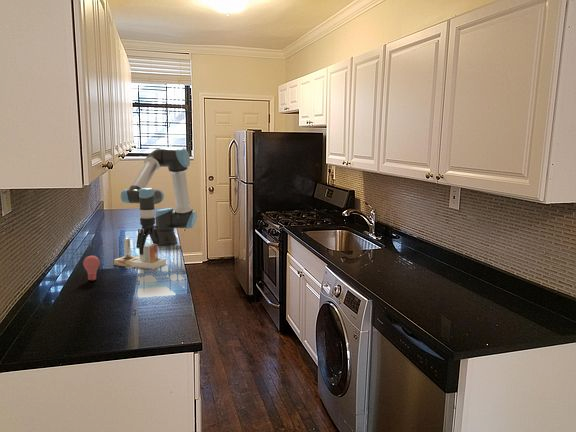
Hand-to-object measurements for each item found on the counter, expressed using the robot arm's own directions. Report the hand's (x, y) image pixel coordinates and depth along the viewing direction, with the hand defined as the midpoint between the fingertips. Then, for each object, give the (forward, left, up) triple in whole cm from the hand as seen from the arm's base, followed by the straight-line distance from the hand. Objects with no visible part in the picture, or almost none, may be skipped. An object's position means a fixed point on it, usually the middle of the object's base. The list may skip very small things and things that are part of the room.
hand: (149, 258), depth 235 cm
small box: (-1, 0, -4) cm, 4 cm away
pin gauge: (+1, -13, -4) cm, 14 cm away
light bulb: (+32, -8, -4) cm, 33 cm away
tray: (0, 0, -4) cm, 4 cm away
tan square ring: (+1, -13, -4) cm, 14 cm away
